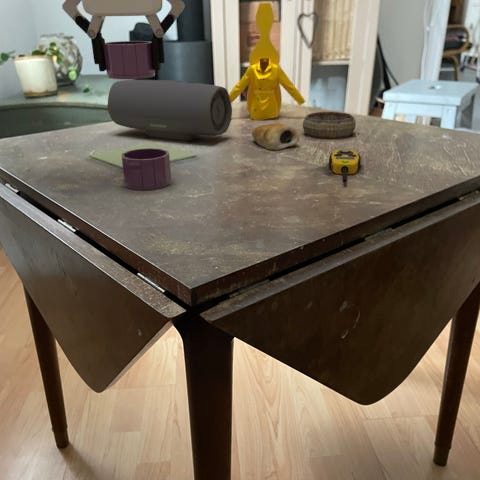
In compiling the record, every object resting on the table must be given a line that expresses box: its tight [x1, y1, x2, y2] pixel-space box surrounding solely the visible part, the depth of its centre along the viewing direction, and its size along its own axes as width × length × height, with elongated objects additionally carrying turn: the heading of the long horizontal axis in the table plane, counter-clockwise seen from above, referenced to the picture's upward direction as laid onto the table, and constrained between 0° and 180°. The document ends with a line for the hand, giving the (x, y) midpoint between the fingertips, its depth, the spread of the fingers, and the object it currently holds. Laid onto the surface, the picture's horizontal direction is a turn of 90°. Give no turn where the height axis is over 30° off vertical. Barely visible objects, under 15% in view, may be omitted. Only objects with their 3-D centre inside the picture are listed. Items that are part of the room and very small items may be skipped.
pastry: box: [251, 122, 300, 151], centre depth 97 cm, size 9×7×4 cm
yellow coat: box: [228, 2, 306, 121], centre depth 114 cm, size 18×8×22 cm, turn 88°
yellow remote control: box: [328, 149, 362, 183], centre depth 81 cm, size 5×2×15 cm
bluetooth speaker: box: [107, 79, 233, 141], centre depth 102 cm, size 23×9×10 cm, turn 62°
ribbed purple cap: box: [121, 148, 172, 191], centre depth 77 cm, size 7×7×4 cm
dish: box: [103, 40, 156, 80], centre depth 75 cm, size 7×7×4 cm
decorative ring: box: [302, 111, 357, 139], centre depth 104 cm, size 10×3×10 cm
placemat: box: [88, 141, 197, 169], centre depth 91 cm, size 13×13×1 cm
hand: (130, 68), depth 75 cm, fingers closed on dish, 6 cm apart
